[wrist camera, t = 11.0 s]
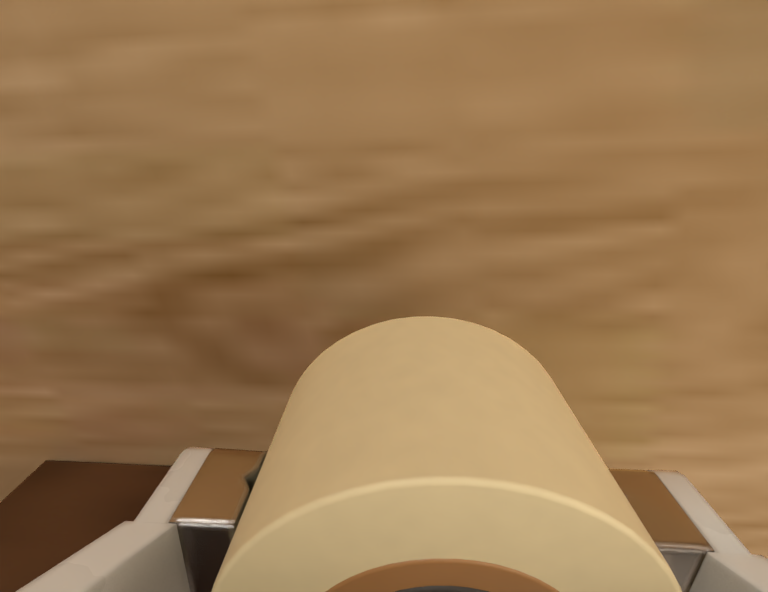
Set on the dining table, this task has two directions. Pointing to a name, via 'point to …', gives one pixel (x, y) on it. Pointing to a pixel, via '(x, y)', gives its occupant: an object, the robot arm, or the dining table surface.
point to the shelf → (67, 513)
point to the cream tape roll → (435, 478)
